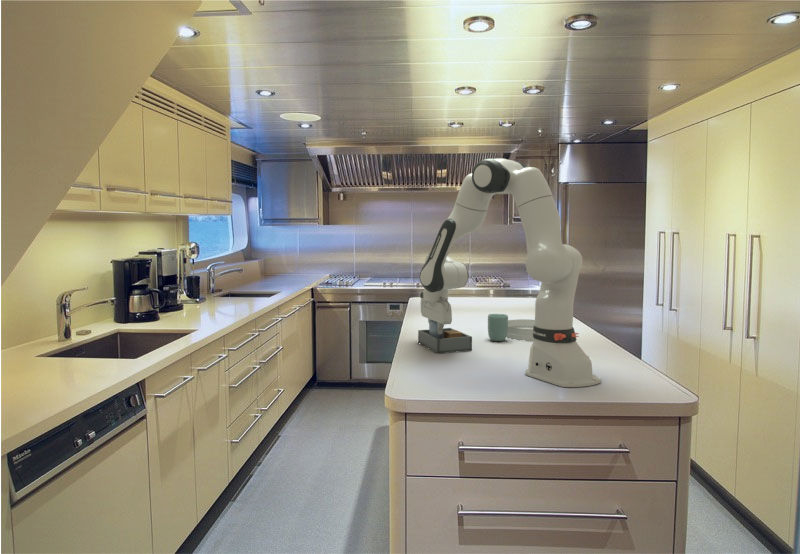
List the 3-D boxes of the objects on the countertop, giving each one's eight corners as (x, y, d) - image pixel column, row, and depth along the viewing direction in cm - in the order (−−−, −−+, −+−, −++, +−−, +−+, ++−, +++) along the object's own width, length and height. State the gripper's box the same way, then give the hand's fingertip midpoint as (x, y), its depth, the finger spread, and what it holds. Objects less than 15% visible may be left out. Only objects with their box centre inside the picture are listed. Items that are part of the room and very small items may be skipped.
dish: (563, 342, 204) (563, 329, 203) (506, 342, 204) (506, 329, 204) (548, 330, 226) (548, 319, 225) (496, 330, 226) (497, 319, 226)
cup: (506, 338, 209) (507, 313, 208) (508, 343, 201) (509, 317, 200) (486, 338, 210) (487, 313, 209) (488, 342, 202) (488, 316, 201)
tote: (471, 350, 189) (472, 336, 189) (437, 353, 185) (437, 339, 184) (450, 340, 206) (450, 327, 205) (418, 343, 201) (418, 330, 200)
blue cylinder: (444, 341, 194) (444, 322, 194) (432, 342, 193) (432, 323, 192) (439, 338, 199) (439, 320, 198) (427, 339, 197) (427, 320, 197)
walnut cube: (462, 346, 193) (462, 332, 192) (449, 347, 191) (449, 333, 190) (455, 343, 197) (456, 330, 197) (443, 344, 195) (443, 331, 195)
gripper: (456, 298, 186) (456, 337, 187) (432, 291, 205) (432, 326, 206) (440, 299, 183) (440, 338, 185) (417, 292, 202) (417, 328, 204)
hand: (435, 332), depth 196 cm, fingers closed on blue cylinder, 5 cm apart
